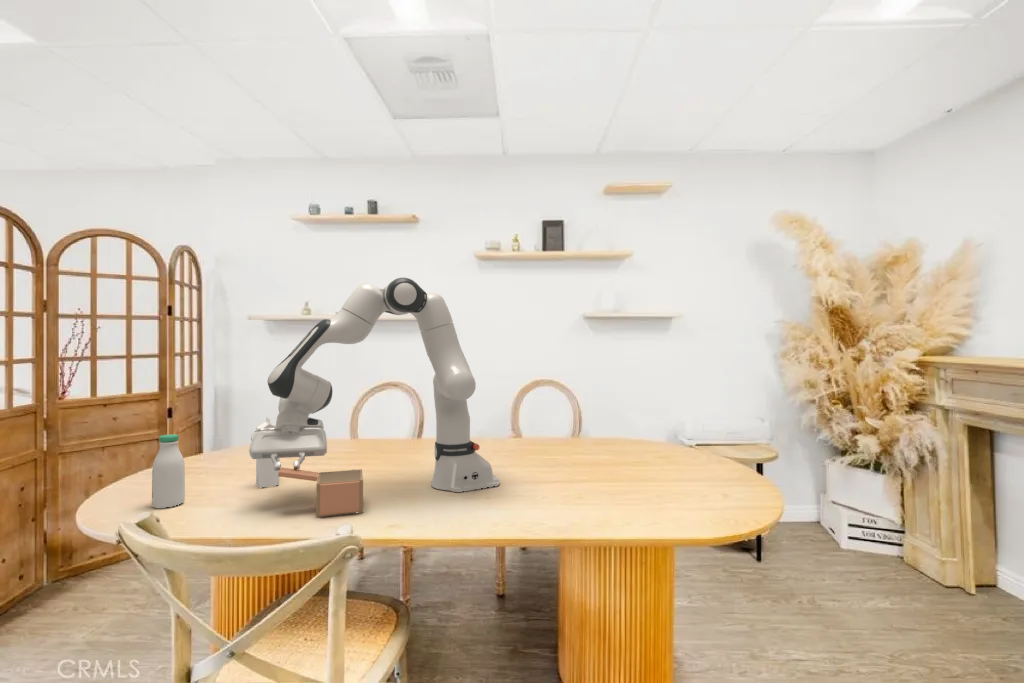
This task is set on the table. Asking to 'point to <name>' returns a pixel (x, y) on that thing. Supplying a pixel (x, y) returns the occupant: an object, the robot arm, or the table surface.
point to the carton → (339, 493)
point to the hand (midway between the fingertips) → (287, 468)
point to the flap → (298, 474)
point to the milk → (266, 465)
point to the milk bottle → (168, 474)
